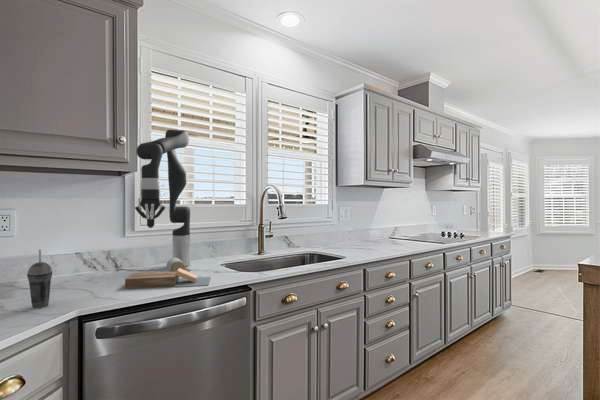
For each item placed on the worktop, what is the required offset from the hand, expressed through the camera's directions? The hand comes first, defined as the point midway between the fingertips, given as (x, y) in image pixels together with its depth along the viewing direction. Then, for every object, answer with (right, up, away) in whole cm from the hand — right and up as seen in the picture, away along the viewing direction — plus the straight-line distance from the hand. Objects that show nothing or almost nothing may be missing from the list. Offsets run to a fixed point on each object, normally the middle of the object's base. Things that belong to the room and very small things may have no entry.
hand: (150, 227), depth 155 cm
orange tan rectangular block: (+15, -23, +2) cm, 27 cm away
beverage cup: (-25, -26, -32) cm, 48 cm away
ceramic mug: (+5, -25, +20) cm, 33 cm away
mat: (+18, -25, +2) cm, 31 cm away
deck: (+2, -25, -1) cm, 25 cm away
